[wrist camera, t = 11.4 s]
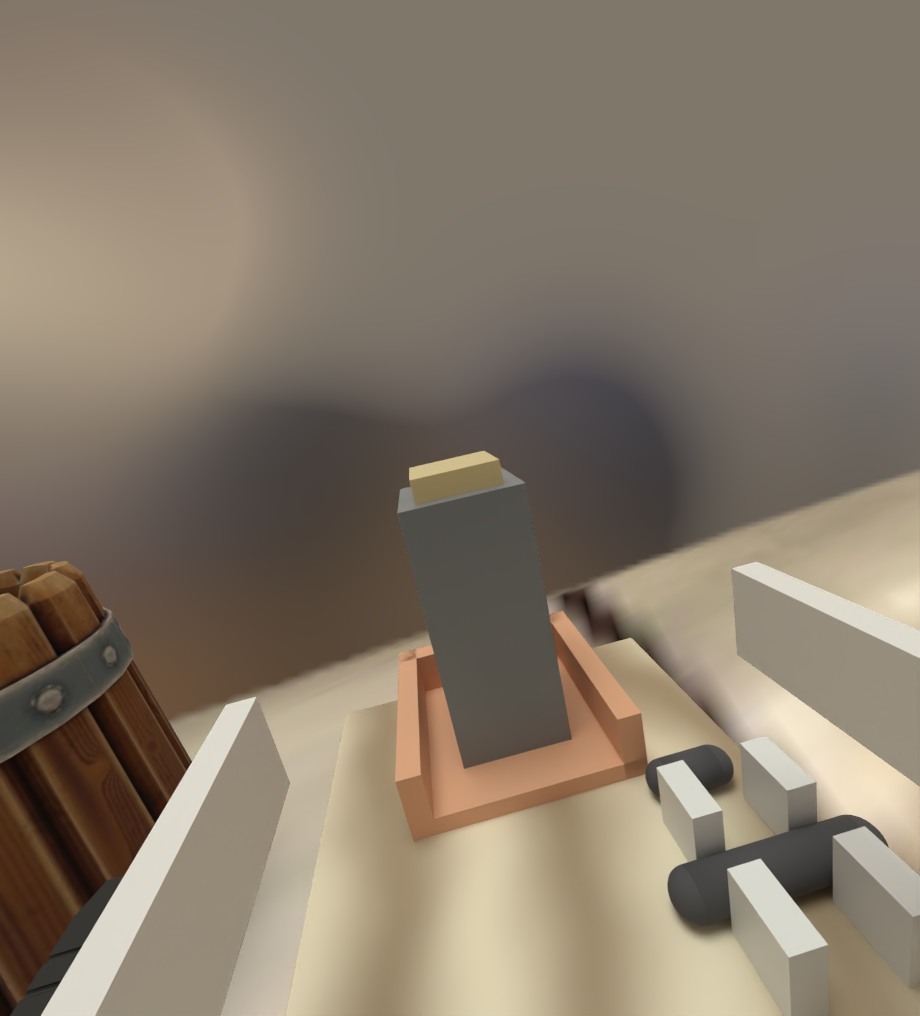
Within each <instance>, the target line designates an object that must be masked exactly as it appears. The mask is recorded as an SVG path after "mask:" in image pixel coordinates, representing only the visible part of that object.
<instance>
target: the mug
mask: <svg viewBox="0 0 920 1016" xmlns="http://www.w3.org/2000/svg"><path fill="white" fill-rule="evenodd" d="M191 763H192V761H191V759H190V757H189V756H188V754H187V752H186V751H185V749H184V747H183V745H182V744H181V742H180V740H179V738H178V737H177V735H176V733H175V732H174V730H173V728H172V726H171V725H170V723H169V721H168V720H167V718H166V716H165V714H164V713H163V711H162V709H161V707H160V706H159V704H158V702H157V701H156V699H155V697H154V695H153V694H152V692H151V690H150V689H149V687H148V685H147V683H146V682H145V680H144V678H143V676H142V675H141V673H140V671H139V670H138V668H137V666H136V664H135V663H134V661H133V648H132V646H131V645H130V643H129V641H128V639H127V638H126V636H125V634H124V633H123V631H122V629H121V628H120V626H119V624H118V622H117V621H116V619H115V617H114V615H113V614H112V612H111V611H110V610H107V609H106V608H103V607H102V606H101V604H100V602H99V600H98V599H97V597H96V596H95V594H94V592H93V590H92V588H91V587H90V585H89V583H88V581H87V580H86V578H85V577H84V574H83V573H82V572H80V571H79V570H78V569H76V568H75V567H73V566H72V565H71V564H70V563H68V562H67V561H63V562H58V563H56V562H54V561H48V562H42V563H38V564H34V565H30V566H27V567H24V568H22V572H21V573H19V572H18V571H16V570H15V569H9V570H6V571H2V572H0V1016H10V1015H11V1013H12V1012H13V1010H14V1009H15V1007H16V1006H17V1004H18V1003H19V1001H20V1000H23V999H24V998H25V996H26V990H27V989H28V987H29V986H30V984H31V982H32V981H33V979H34V978H35V976H36V975H37V973H38V972H39V970H40V969H41V967H42V965H43V964H46V963H47V962H48V960H49V955H50V953H51V952H52V950H53V948H54V947H55V945H56V944H57V942H58V941H59V939H60V938H61V936H62V935H63V933H64V932H65V930H66V928H67V927H68V925H69V924H70V922H71V921H72V919H73V918H74V916H75V915H76V914H77V913H78V912H79V911H80V909H81V908H82V907H83V906H84V905H85V904H86V903H87V902H88V901H89V900H90V899H91V897H92V896H93V895H94V894H95V893H96V892H97V891H98V890H99V889H100V888H101V887H102V885H103V884H104V883H105V882H106V881H107V880H109V879H112V878H116V877H119V876H123V875H125V874H126V872H127V870H128V869H129V867H130V865H131V864H132V862H133V860H134V859H135V857H136V855H137V854H138V852H139V850H140V849H141V847H142V845H143V843H144V842H145V840H146V838H147V837H148V835H149V833H150V832H151V830H152V828H153V827H154V825H155V823H156V822H157V820H158V818H159V817H160V815H161V813H162V812H163V810H164V808H165V807H166V805H167V803H168V802H169V800H170V798H171V797H172V795H173V793H174V792H175V790H176V788H177V786H178V785H179V783H180V781H181V780H182V778H183V776H184V775H185V773H186V771H187V770H188V768H189V766H190V765H191Z"/></svg>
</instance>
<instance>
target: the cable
mask: <svg viewBox="0 0 920 1016" xmlns="http://www.w3.org/2000/svg"><path fill="white" fill-rule="evenodd" d="M680 760H683V761H684V762H685V763H686V765H687V766H688V767H689V768H690V770H691V771H692V772H693V773H694V775H695V776H696V777H697V779H698V780H699V781H700V782H701V784H702V785H703V786H704V787H705V789H706V790H709V789H712V788H716V787H719V786H722V785H725V784H727V783H728V782H730V780H731V779H732V777H733V774H734V767H733V763H732V761H731V759H730V757H729V756H728V755H727V753H726V752H725V751H723V750H722V749H721V748H719V747H717V746H715V745H709V744H706V745H701V746H698V747H694V748H691V749H687V750H684V751H681V752H677V753H674V754H670V755H667V756H663V757H660V758H656V759H654V760H652V761H651V762H650V763H649V764H648V765H647V768H646V772H645V778H646V782H647V784H648V786H649V788H650V790H651V791H652V792H653V793H654V794H655V795H656V796H658V797H660V792H659V784H658V776H657V768H656V767H660V766H663V765H667V764H670V763H673V762H677V761H680ZM864 826H865V827H866V828H867V829H868V830H870V831H871V832H872V833H873V834H874V835H875V836H876V837H877V838H878V839H879V840H881V841H882V842H883V843H884V844H885V845H886V846H887V847H888V844H887V842H886V840H885V838H884V837H883V835H882V834H881V833H880V832H879V830H878V829H877V828H875V827H874V826H873V825H872V824H870V823H869V822H868V821H866V820H864V819H862V818H860V817H857V816H853V815H840V816H837V817H834V818H831V819H827V820H824V821H821V822H818V823H814V824H811V825H808V826H804V827H801V828H798V829H795V830H791V831H788V832H785V833H782V834H778V835H775V836H772V837H769V838H765V839H762V840H759V841H756V842H752V843H749V844H746V845H743V846H739V847H736V848H733V849H729V850H726V851H723V852H720V853H716V854H713V855H710V856H707V857H703V858H700V859H697V860H694V861H690V862H687V863H684V864H681V865H678V866H676V867H675V868H674V869H673V870H672V871H671V872H670V874H669V877H668V883H667V887H668V894H669V897H670V900H671V903H672V904H673V906H674V908H675V909H676V911H677V912H678V913H679V914H680V915H681V916H682V917H683V918H684V919H685V920H686V921H688V922H690V923H692V924H694V925H698V926H705V925H710V924H713V923H716V922H719V921H722V920H725V919H728V918H731V911H730V899H729V887H728V875H727V869H728V868H731V867H735V866H738V865H741V864H744V863H748V862H751V861H754V860H757V859H761V860H762V861H763V862H764V864H765V865H766V866H767V868H768V869H769V870H770V871H771V873H772V874H773V875H774V876H775V878H776V879H777V880H778V882H779V883H780V884H781V885H782V887H783V888H784V889H785V890H786V892H787V893H788V894H789V896H790V897H791V898H794V897H798V896H801V895H804V894H807V893H810V892H813V891H816V890H820V889H823V888H826V887H829V886H832V885H833V836H835V835H838V834H841V833H844V832H848V831H851V830H854V829H857V828H861V827H864ZM888 848H889V847H888Z"/></svg>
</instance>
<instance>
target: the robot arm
mask: <svg viewBox="0 0 920 1016" xmlns="http://www.w3.org/2000/svg"><path fill="white" fill-rule="evenodd" d="M732 582H733V598H734V613H735V628H736V643H737V655H739V656H740V657H742V658H743V659H744V660H746V661H747V662H748V663H750V664H751V665H753V666H754V667H755V668H757V669H758V670H760V671H761V672H762V673H764V674H765V675H766V676H768V677H769V678H771V679H772V680H773V681H775V682H776V683H777V684H779V685H780V686H782V687H783V688H784V689H786V690H787V691H789V692H790V693H791V694H793V695H794V696H795V697H797V698H798V699H800V700H801V701H802V702H804V703H805V704H806V705H808V706H809V707H811V708H812V709H813V710H815V711H816V712H818V713H819V714H820V715H822V716H823V717H824V718H826V719H827V720H829V721H830V722H831V723H833V724H834V725H835V726H837V727H838V728H840V729H841V730H842V731H844V732H845V733H847V734H848V735H849V736H851V737H852V738H853V739H855V740H856V741H858V742H859V743H860V744H862V745H863V746H865V747H866V748H867V749H869V750H870V751H871V752H873V753H874V754H876V755H877V756H878V757H880V758H881V759H882V760H884V761H885V762H887V763H888V764H889V765H891V766H892V767H894V768H895V769H896V770H898V771H899V772H900V773H902V774H903V775H905V776H906V777H907V778H909V779H910V780H911V781H913V782H914V783H916V784H917V785H918V786H920V631H919V630H917V629H914V628H912V627H910V626H907V625H905V624H903V623H900V622H898V621H896V620H893V619H891V618H889V617H886V616H884V615H881V614H879V613H877V612H874V611H872V610H870V609H867V608H865V607H863V606H860V605H858V604H855V603H853V602H851V601H848V600H846V599H844V598H841V597H839V596H837V595H834V594H832V593H829V592H827V591H825V590H822V589H820V588H818V587H815V586H813V585H811V584H808V583H806V582H803V581H801V580H799V579H796V578H794V577H792V576H789V575H787V574H785V573H782V572H780V571H777V570H775V569H773V568H770V567H768V566H766V565H763V564H761V563H759V562H754V563H750V564H747V565H743V566H739V567H735V568H732ZM289 784H290V782H289V779H288V776H287V774H286V771H285V769H284V766H283V764H282V761H281V758H280V756H279V753H278V751H277V748H276V745H275V743H274V740H273V738H272V735H271V733H270V730H269V727H268V725H267V722H266V720H265V717H264V714H263V712H262V709H261V707H260V704H259V702H258V699H257V697H254V698H250V699H246V700H242V701H239V702H235V703H231V704H228V705H226V706H225V708H224V709H223V711H222V713H221V714H220V716H219V718H218V719H217V721H216V723H215V724H214V726H213V728H212V729H211V731H210V733H209V734H208V736H207V738H206V740H205V741H204V743H203V745H202V746H201V748H200V750H199V751H198V753H197V755H196V756H195V758H194V760H193V761H192V763H191V765H190V766H189V768H188V770H187V771H186V773H185V775H184V776H183V778H182V780H181V781H180V783H179V785H178V786H177V788H176V790H175V792H174V793H173V795H172V797H171V798H170V800H169V802H168V803H167V805H166V807H165V808H164V810H163V812H162V813H161V815H160V817H159V818H158V820H157V822H156V823H155V825H154V827H153V828H152V830H151V832H150V833H149V835H148V837H147V838H146V840H145V842H144V843H143V845H142V847H141V849H140V850H139V852H138V854H137V855H136V857H135V859H134V860H133V862H132V864H131V865H130V867H129V869H128V870H127V872H126V874H125V875H123V876H119V877H116V878H112V879H109V880H107V881H106V882H105V883H104V884H103V885H102V887H101V888H100V889H99V890H98V891H97V892H96V893H95V894H94V895H93V896H92V897H91V899H90V900H89V901H88V902H87V903H86V904H85V905H84V906H83V907H82V908H81V909H80V911H79V912H78V913H77V914H76V915H75V916H74V918H73V919H72V921H71V922H70V924H69V925H68V927H67V928H66V930H65V932H64V933H63V935H62V936H61V938H60V939H59V941H58V942H57V944H56V945H55V947H54V948H53V950H52V952H51V953H50V955H49V960H48V962H47V963H46V964H43V965H42V967H41V969H40V970H39V972H38V973H37V975H36V976H35V978H34V979H33V981H32V982H31V984H30V986H29V987H28V989H27V990H26V996H25V998H24V999H23V1000H20V1001H19V1003H18V1004H17V1006H16V1007H15V1009H14V1010H13V1012H12V1013H11V1015H10V1016H220V1015H221V1011H222V1008H223V1005H224V1001H225V998H226V995H227V991H228V988H229V985H230V981H231V978H232V975H233V971H234V968H235V965H236V961H237V958H238V955H239V951H240V948H241V945H242V941H243V938H244V935H245V931H246V928H247V925H248V921H249V918H250V915H251V911H252V908H253V905H254V901H255V898H256V895H257V891H258V888H259V885H260V881H261V878H262V875H263V871H264V868H265V865H266V861H267V858H268V855H269V851H270V848H271V844H272V841H273V838H274V834H275V831H276V828H277V824H278V821H279V818H280V814H281V811H282V808H283V804H284V801H285V798H286V794H287V791H288V788H289Z"/></svg>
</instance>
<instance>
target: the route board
mask: <svg viewBox="0 0 920 1016" xmlns="http://www.w3.org/2000/svg"><path fill="white" fill-rule="evenodd" d="M591 649H592V650H593V651H594V652H595V654H596V655H597V656H598V658H599V659H600V660H601V661H602V663H603V664H604V665H605V667H606V668H607V669H608V671H609V672H610V673H611V674H612V676H613V677H614V678H615V680H616V681H617V682H618V684H619V685H620V686H621V687H622V689H623V690H624V691H625V693H626V694H627V695H628V696H629V698H630V699H631V700H632V702H633V703H634V704H635V706H636V707H637V708H638V709H639V711H640V712H641V715H642V723H643V730H644V738H645V745H646V753H647V761H648V764H649V763H650V762H651V761H652V760H654V759H656V758H660V757H663V756H667V755H670V754H674V753H677V752H681V751H684V750H687V749H691V748H694V747H698V746H701V745H706V744H709V745H715V746H717V747H719V748H721V749H722V750H723V751H725V752H726V753H727V755H728V756H729V757H730V759H731V761H732V763H733V767H734V774H733V777H732V779H731V780H730V782H728V783H727V784H725V785H722V786H719V787H716V788H712V789H709V790H707V791H708V793H709V794H710V795H711V796H712V798H713V799H714V800H715V801H716V803H717V804H718V805H719V807H720V808H721V809H722V812H723V824H724V836H725V849H726V850H729V849H733V848H736V847H739V846H743V845H746V844H749V843H752V842H756V841H759V840H762V839H765V838H769V837H772V836H775V833H774V832H773V831H772V830H771V829H770V828H769V827H768V825H767V824H766V823H765V822H764V821H763V820H762V818H761V817H760V816H759V815H758V814H757V813H756V812H755V810H754V809H753V808H752V807H751V806H750V805H749V803H748V802H747V801H746V800H745V799H744V797H743V782H742V767H741V752H740V748H739V747H738V746H737V745H736V744H735V743H734V742H733V741H732V740H731V739H730V738H729V737H728V736H727V735H726V734H725V733H724V732H723V731H722V730H721V729H720V728H719V727H718V726H717V725H716V724H715V723H714V722H713V721H712V720H711V719H710V718H709V717H708V716H707V715H706V714H705V712H704V711H703V710H702V709H701V708H700V707H699V706H698V705H697V704H696V703H695V702H694V701H693V700H692V699H691V698H690V697H689V696H688V695H687V694H686V693H685V692H684V691H683V690H682V689H681V688H680V687H679V686H678V685H677V684H676V683H675V682H674V681H673V680H672V679H671V678H670V677H669V676H668V675H667V674H666V673H665V672H664V671H663V670H662V669H661V668H660V667H659V666H658V665H657V664H656V663H655V662H654V661H653V660H652V658H651V657H650V656H649V655H648V654H647V653H646V652H645V651H644V650H643V649H642V648H641V647H640V646H639V645H638V644H637V643H636V642H635V641H634V640H633V639H632V638H629V639H625V640H621V641H617V642H614V643H610V644H606V645H602V646H599V647H595V648H591ZM397 709H398V700H397V701H393V702H389V703H386V704H382V705H378V706H375V707H371V708H367V709H363V710H360V711H356V712H352V713H348V714H346V716H345V721H344V726H343V731H342V736H341V741H340V746H339V751H338V756H337V761H336V766H335V771H334V776H333V781H332V786H331V791H330V795H329V800H328V805H327V810H326V815H325V820H324V825H323V830H322V835H321V840H320V845H319V850H318V855H317V860H316V865H315V870H314V875H313V880H312V885H311V890H310V895H309V900H308V905H307V910H306V915H305V920H304V925H303V930H302V935H301V940H300V945H299V950H298V955H297V960H296V965H295V970H294V975H293V980H292V985H291V990H290V995H289V999H288V1004H287V1009H286V1014H285V1016H784V1015H783V1014H782V1012H781V1010H780V1009H779V1007H778V1006H777V1004H776V1002H775V1001H774V999H773V998H772V996H771V994H770V993H769V991H768V990H767V988H766V986H765V985H764V983H763V981H762V980H761V978H760V977H759V975H758V973H757V972H756V970H755V969H754V967H753V965H752V964H751V962H750V961H749V959H748V957H747V956H746V954H745V953H744V951H743V949H742V948H741V946H740V944H739V943H738V941H737V940H736V938H735V936H734V935H733V933H732V923H731V918H728V919H725V920H722V921H719V922H716V923H713V924H710V925H705V926H698V925H694V924H692V923H690V922H688V921H686V920H685V919H684V918H683V917H682V916H681V915H680V914H679V913H678V912H677V911H676V909H675V908H674V906H673V904H672V903H671V900H670V897H669V894H668V887H667V883H668V877H669V874H670V872H671V871H672V870H673V869H674V868H675V867H676V866H678V865H681V864H684V863H687V862H688V861H687V859H686V858H685V856H684V854H683V853H682V851H681V850H680V848H679V846H678V845H677V843H676V841H675V840H674V838H673V837H672V835H671V833H670V832H669V830H668V829H667V827H666V825H665V824H664V822H663V816H662V808H661V800H660V797H658V796H656V795H655V794H654V793H653V792H652V791H651V790H650V788H649V786H648V784H647V782H646V778H645V774H644V775H641V776H638V777H634V778H631V779H627V780H624V781H620V782H617V783H613V784H610V785H607V786H603V787H600V788H596V789H593V790H589V791H586V792H582V793H579V794H576V795H572V796H569V797H565V798H562V799H558V800H555V801H551V802H548V803H545V804H541V805H538V806H534V807H531V808H527V809H524V810H520V811H517V812H514V813H510V814H507V815H503V816H500V817H496V818H493V819H489V820H486V821H483V822H479V823H476V824H472V825H469V826H465V827H462V828H458V829H455V830H452V831H448V832H445V833H441V834H438V835H434V836H431V837H427V838H424V839H421V840H417V841H413V838H412V834H411V831H410V828H409V825H408V821H407V818H406V815H405V812H404V809H403V805H402V802H401V799H400V796H399V793H398V789H397V786H396V783H395V772H396V740H397ZM792 899H793V901H794V902H795V903H796V904H797V906H798V907H799V908H800V909H801V911H802V912H803V913H804V915H805V916H806V917H807V918H808V920H809V921H810V922H811V923H812V925H813V926H814V927H815V929H816V930H817V931H818V932H819V934H820V935H821V936H822V937H823V939H824V940H825V941H826V943H827V944H828V986H829V1016H920V985H917V986H915V987H912V988H908V987H907V986H906V985H905V983H904V982H903V981H902V980H901V979H900V978H899V977H898V975H897V974H896V973H895V972H894V971H893V970H892V968H891V967H890V966H889V965H888V964H887V963H886V962H885V960H884V959H883V958H882V957H881V956H880V955H879V953H878V952H877V951H876V950H875V949H874V948H873V947H872V945H871V944H870V943H869V942H868V941H867V940H866V938H865V937H864V936H863V935H862V934H861V933H860V932H859V930H858V929H857V928H856V927H855V926H854V925H853V923H852V922H851V921H850V920H849V919H848V918H847V917H846V915H845V914H844V913H843V912H842V911H841V910H840V908H839V907H838V906H837V905H836V904H835V903H834V902H833V885H832V886H829V887H826V888H823V889H820V890H816V891H813V892H810V893H807V894H804V895H801V896H798V897H794V898H792Z"/></svg>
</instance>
